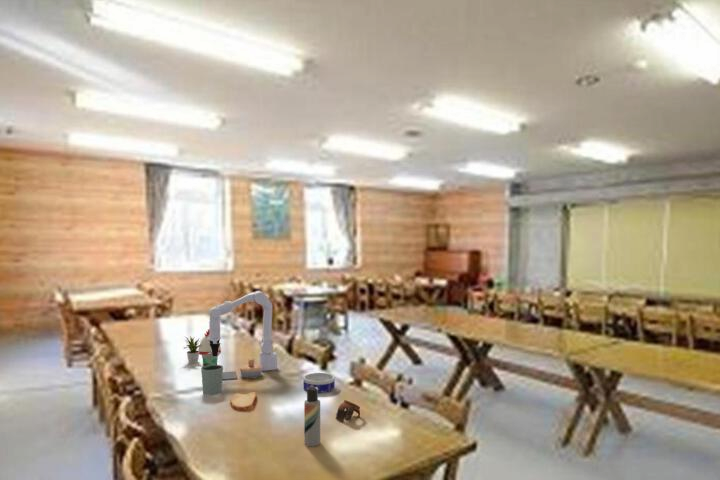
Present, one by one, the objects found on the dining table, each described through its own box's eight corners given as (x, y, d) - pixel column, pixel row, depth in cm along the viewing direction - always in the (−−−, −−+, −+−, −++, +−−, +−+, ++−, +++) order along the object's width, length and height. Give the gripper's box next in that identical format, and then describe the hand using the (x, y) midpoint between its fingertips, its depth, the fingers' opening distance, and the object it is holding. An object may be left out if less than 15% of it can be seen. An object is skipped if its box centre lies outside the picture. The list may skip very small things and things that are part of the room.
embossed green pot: (203, 396, 228) (203, 370, 228) (199, 390, 237) (199, 366, 237) (225, 393, 233) (225, 368, 233) (220, 387, 242) (220, 363, 242)
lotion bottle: (311, 439, 180) (311, 384, 180) (323, 442, 177) (323, 386, 177) (301, 444, 175) (301, 388, 175) (313, 448, 172) (313, 390, 172)
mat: (235, 372, 271) (235, 371, 271) (237, 379, 257) (237, 377, 257) (205, 374, 266) (205, 373, 266) (205, 381, 252) (205, 380, 252)
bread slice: (245, 413, 207) (245, 404, 207) (216, 406, 217) (216, 397, 217) (274, 401, 222) (274, 393, 222) (246, 395, 232) (246, 387, 232)
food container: (212, 373, 269) (212, 354, 269) (201, 372, 270) (201, 354, 270) (222, 367, 281) (222, 350, 281) (213, 366, 282) (213, 349, 282)
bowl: (260, 372, 270) (260, 365, 270) (263, 377, 260) (263, 370, 260) (239, 374, 267) (239, 366, 267) (241, 379, 256) (241, 371, 256)
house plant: (173, 363, 289) (173, 336, 289) (189, 358, 302) (189, 332, 302) (192, 366, 284) (192, 337, 284) (208, 360, 297) (208, 333, 297)
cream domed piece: (225, 351, 322) (225, 328, 322) (208, 355, 310) (208, 331, 310) (210, 348, 330) (210, 326, 330) (193, 352, 318) (193, 329, 318)
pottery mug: (332, 417, 204) (340, 398, 206) (352, 426, 204) (360, 407, 207) (337, 419, 192) (345, 399, 195) (358, 429, 193) (366, 409, 196)
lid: (261, 364, 271) (261, 356, 271) (264, 370, 260) (264, 361, 260) (239, 366, 267) (239, 357, 267) (240, 372, 256) (240, 362, 256)
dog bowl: (339, 386, 246) (339, 374, 246) (327, 395, 231) (327, 382, 231) (311, 383, 251) (311, 371, 251) (298, 391, 236) (298, 379, 236)
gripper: (207, 327, 275) (207, 352, 275) (207, 332, 261) (207, 358, 261) (220, 327, 277) (220, 351, 277) (221, 331, 263) (221, 357, 263)
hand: (214, 354), depth 269 cm, fingers open, 7 cm apart
